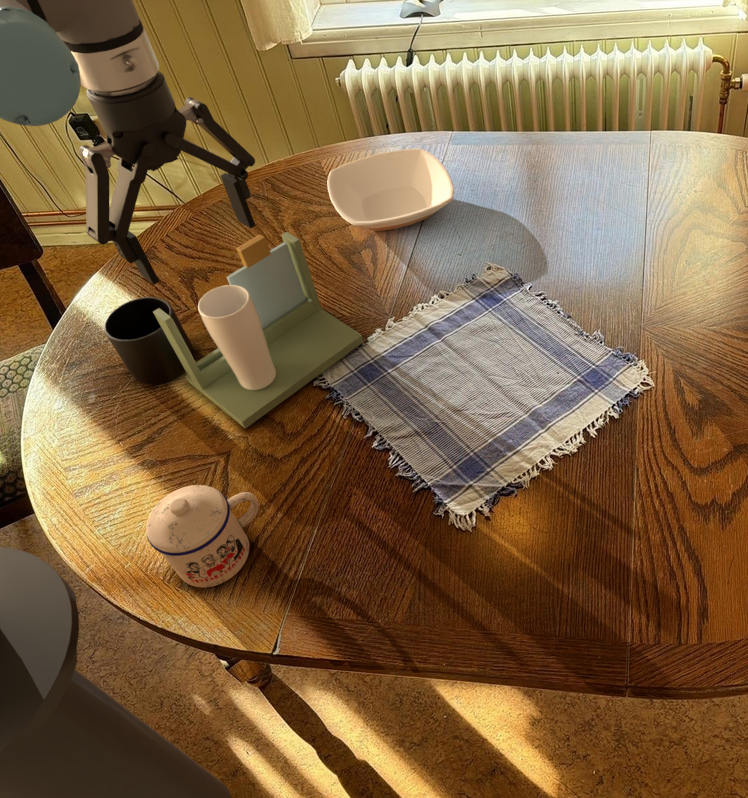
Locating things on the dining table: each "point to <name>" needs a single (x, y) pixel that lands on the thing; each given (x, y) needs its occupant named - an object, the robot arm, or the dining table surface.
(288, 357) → the window frame
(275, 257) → the panel
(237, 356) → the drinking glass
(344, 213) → the bowl
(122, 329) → the mug
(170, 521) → the teacup with lid
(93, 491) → the dining table surface
